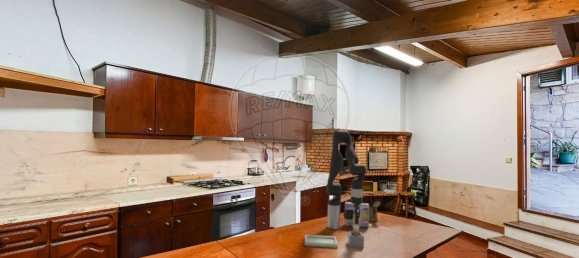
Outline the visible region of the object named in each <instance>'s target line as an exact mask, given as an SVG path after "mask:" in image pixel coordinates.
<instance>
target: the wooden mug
mask: <svg viewBox="0 0 579 258" xmlns="http://www.w3.org/2000/svg"><path fill="white" fill-rule="evenodd" d="M372 204H373V205H369V222H372V223H373V222H379V219H378V207H379V206H380V205H381V201H380V200H377V201H375V202H373V203H372Z"/></svg>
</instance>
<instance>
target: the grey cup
mask: <svg viewBox="0 0 579 258" xmlns="http://www.w3.org/2000/svg"><path fill="white" fill-rule="evenodd" d="M347 244H348V246H349V248H355V247H356V248H357V249H358V248H359V249H361V248H362V249H364V248H365V247H364V245H365V236H364V234H363V232H361V231H359V235H353V231H351V230H350V231H348V232H347Z"/></svg>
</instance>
